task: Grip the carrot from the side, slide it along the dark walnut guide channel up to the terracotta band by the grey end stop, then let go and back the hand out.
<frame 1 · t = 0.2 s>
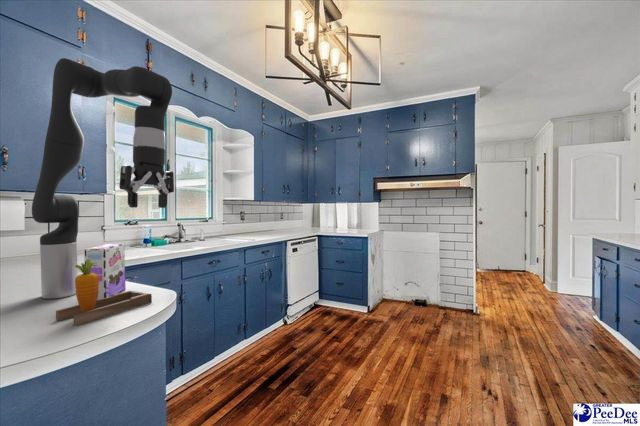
hand: (148, 207, 83), 29 cm above the countertop, tool pointing down, fingers open, 8 cm apart
carrot: (88, 317, 81), resting in guide channel
guide channel: (107, 310, 86), on the countertop
candy box: (107, 296, 101), on the countertop
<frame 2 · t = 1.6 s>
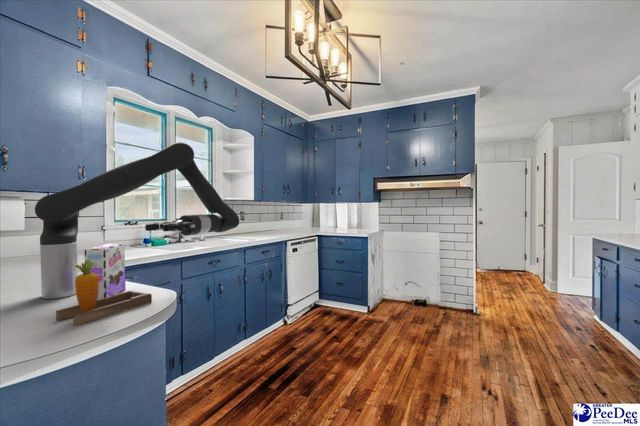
hand: (154, 227, 99), 22 cm above the countertop, tool horizontal, fingers open, 8 cm apart
nothing on the countertop moved.
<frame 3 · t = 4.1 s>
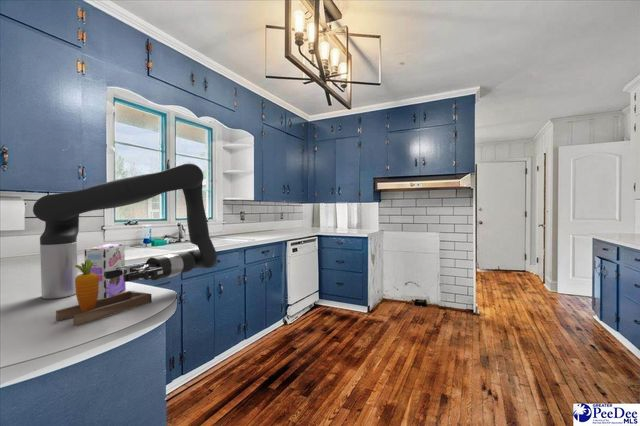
hand: (114, 276, 88), 9 cm above the countertop, tool horizontal, fingers open, 8 cm apart
nothing on the countertop moved.
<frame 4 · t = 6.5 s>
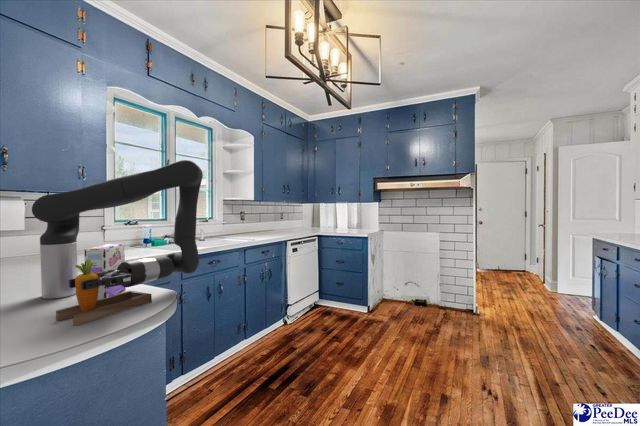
hand: (75, 285, 79), 9 cm above the countertop, tool horizontal, fingers closed on carrot, 4 cm apart
carrot: (88, 317, 81), resting in guide channel, touching gripper
everything else where it was.
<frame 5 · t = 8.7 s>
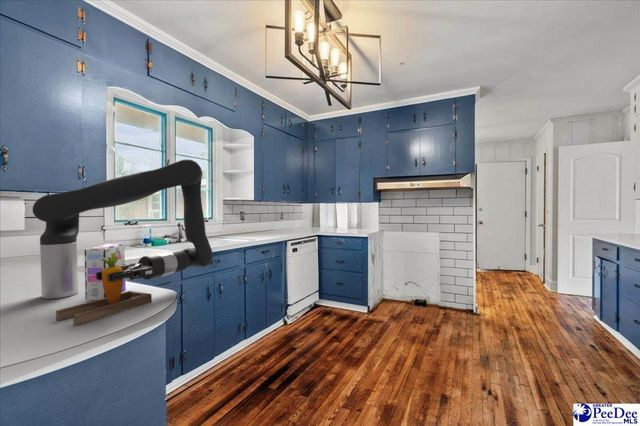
hand: (102, 277, 85), 10 cm above the countertop, tool horizontal, fingers closed on carrot, 4 cm apart
carrot: (113, 307, 87), resting in guide channel, touching gripper
everything else where it was.
when the fingers open (9 cm above the countertop, at t = 10.9 s): carrot stays where it is, resting in guide channel.
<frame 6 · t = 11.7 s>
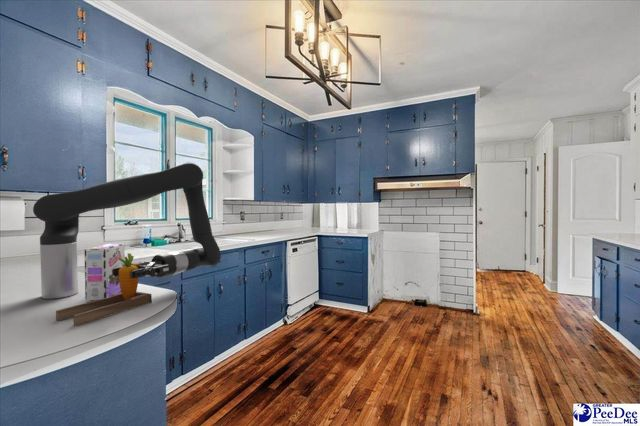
hand: (121, 273, 89), 10 cm above the countertop, tool horizontal, fingers open, 8 cm apart
carrot: (129, 304, 91), resting in guide channel
everything else where it was.
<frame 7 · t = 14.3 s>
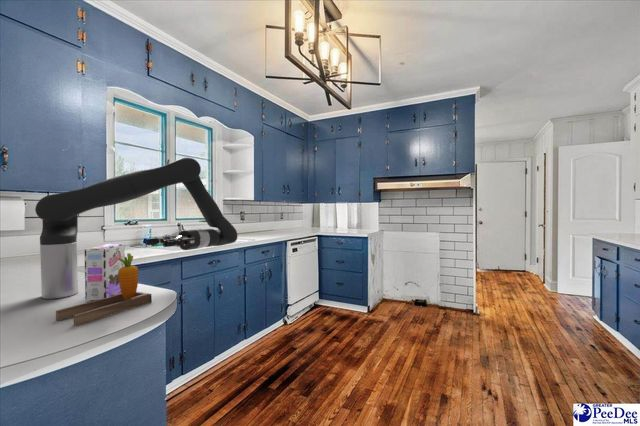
hand: (155, 242, 102), 17 cm above the countertop, tool horizontal, fingers open, 8 cm apart
nothing on the countertop moved.
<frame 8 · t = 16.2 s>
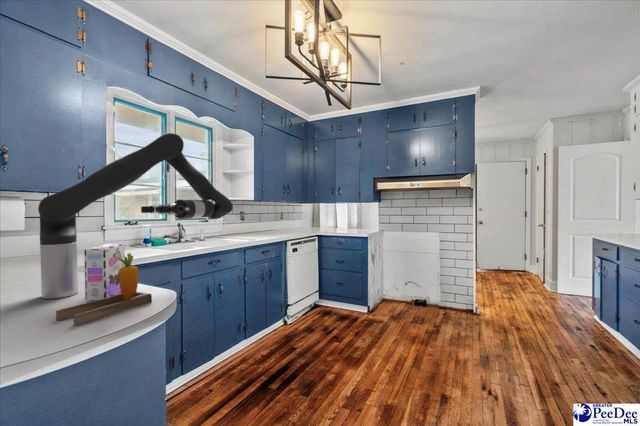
hand: (150, 209, 103), 28 cm above the countertop, tool horizontal, fingers open, 8 cm apart
nothing on the countertop moved.
at the end: carrot 0.1 cm from the target spot, resting in guide channel; carrot tilted 0°; the gripper is holding nothing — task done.
